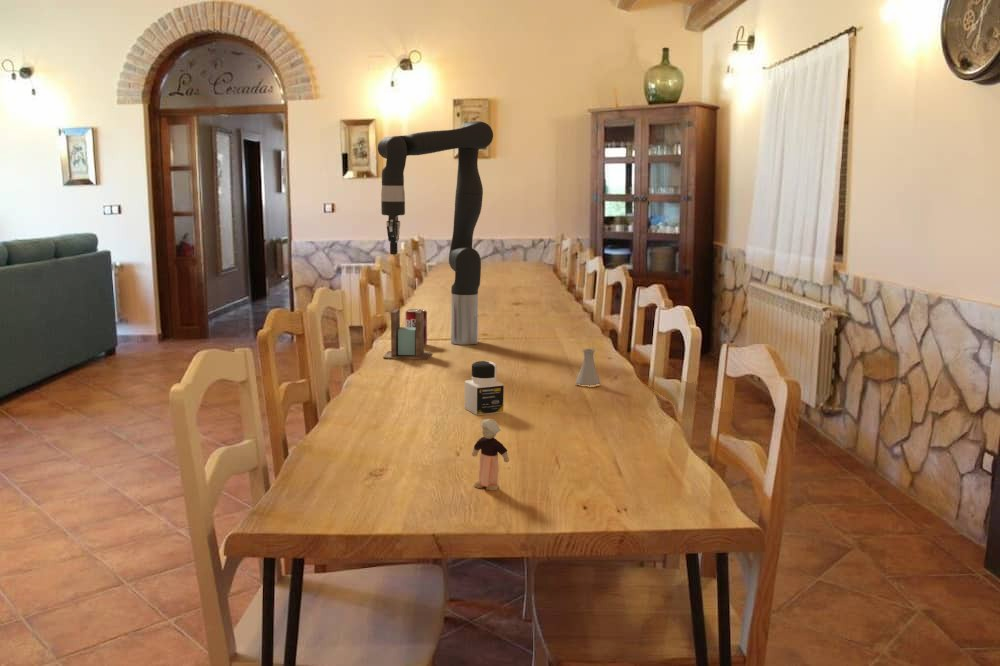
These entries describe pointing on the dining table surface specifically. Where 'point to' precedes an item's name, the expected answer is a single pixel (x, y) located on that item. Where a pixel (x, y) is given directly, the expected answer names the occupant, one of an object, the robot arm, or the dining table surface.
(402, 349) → the block
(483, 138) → the robot arm
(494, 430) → the grandmother figurine
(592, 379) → the flask
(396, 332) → the brown wooden holder
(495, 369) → the medicine bottle
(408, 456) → the dining table surface
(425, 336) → the soda can
